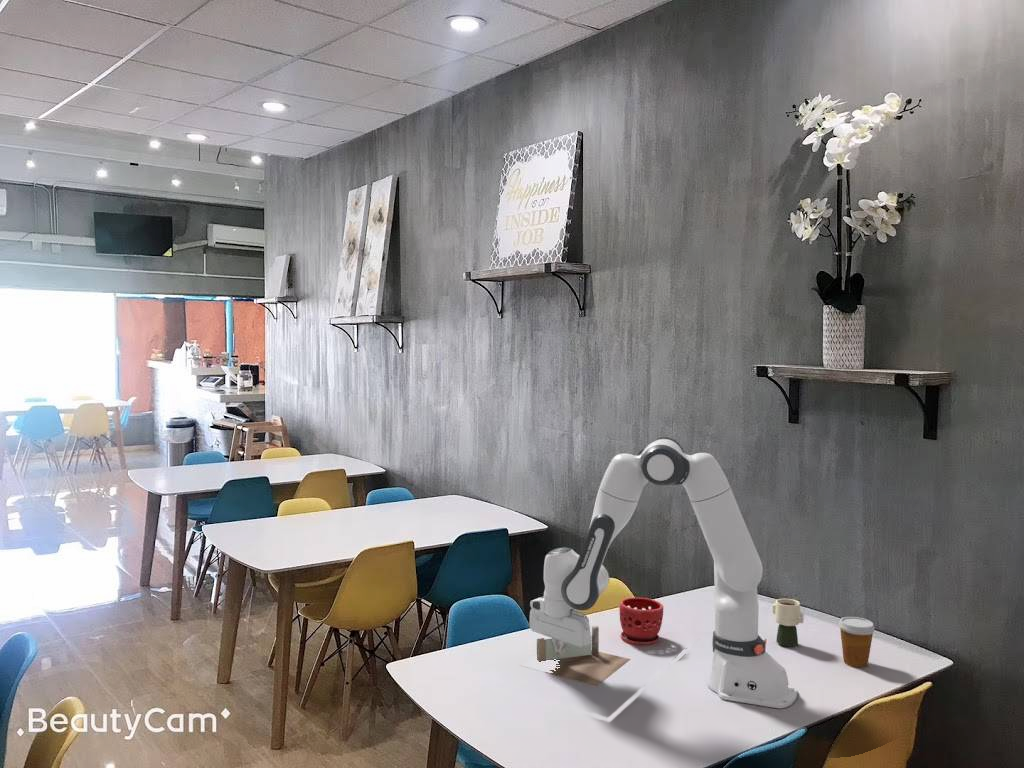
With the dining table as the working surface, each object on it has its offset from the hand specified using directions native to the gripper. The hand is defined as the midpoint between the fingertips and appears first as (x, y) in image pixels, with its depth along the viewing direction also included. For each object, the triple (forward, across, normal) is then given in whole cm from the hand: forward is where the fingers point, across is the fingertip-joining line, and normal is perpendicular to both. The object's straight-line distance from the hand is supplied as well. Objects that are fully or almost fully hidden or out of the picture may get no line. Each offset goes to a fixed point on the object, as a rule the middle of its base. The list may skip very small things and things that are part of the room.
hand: (559, 654), depth 225 cm
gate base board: (+4, -3, -4) cm, 6 cm away
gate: (+2, +1, -3) cm, 4 cm away
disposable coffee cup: (+5, -58, -62) cm, 85 cm away
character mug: (+4, -37, -61) cm, 72 cm away
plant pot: (+4, -5, -32) cm, 32 cm away
